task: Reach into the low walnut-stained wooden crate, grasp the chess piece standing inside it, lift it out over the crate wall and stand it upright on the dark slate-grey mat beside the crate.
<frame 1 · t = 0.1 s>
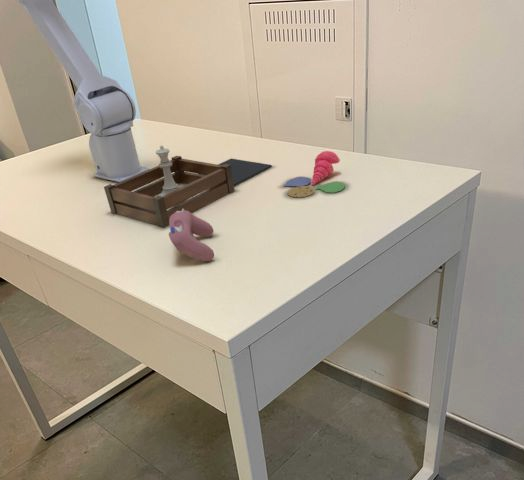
mat: (232, 172, 108), on the table
crate: (173, 201, 99), on the table
video game controller: (195, 251, 82), on the table
chess piece: (173, 202, 99), resting in crate
toy pieces: (314, 185, 98), on the table
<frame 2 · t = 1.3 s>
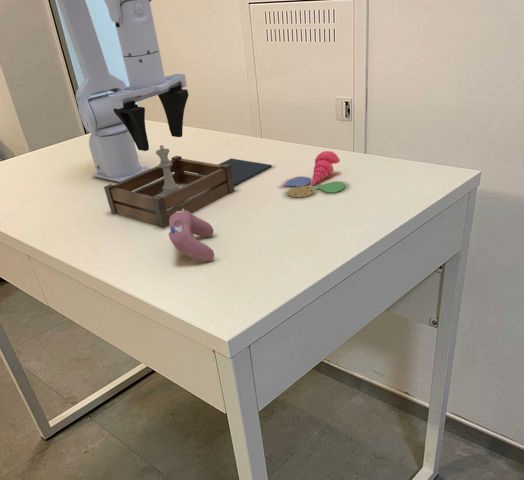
hand: (160, 143, 93), 10 cm above the table, tool pointing down, fingers open, 7 cm apart
nothing on the table moved.
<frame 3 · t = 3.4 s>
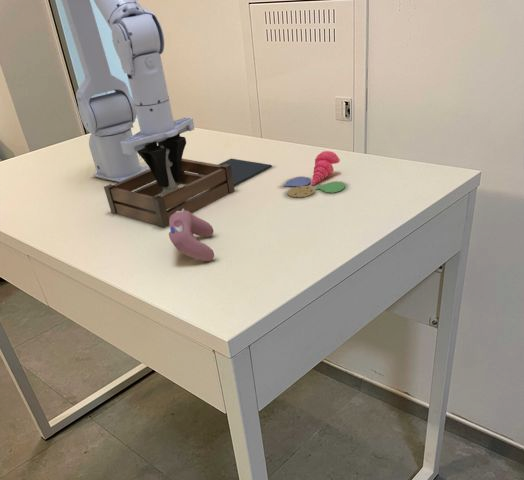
hand: (169, 183, 97), 3 cm above the table, tool pointing down, fingers closed on chess piece, 2 cm apart
chess piece: (173, 202, 99), resting in crate, touching gripper
everything else where it was.
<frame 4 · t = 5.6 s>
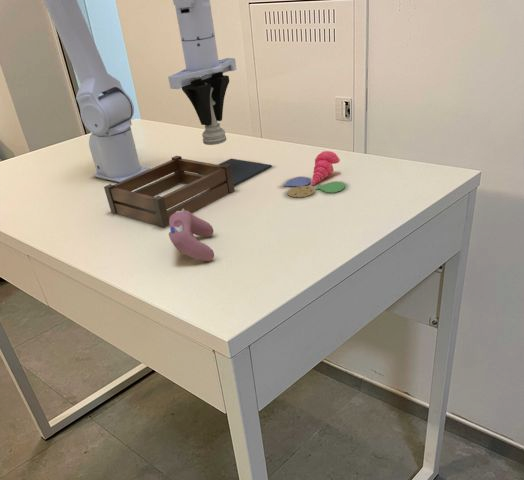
hand: (211, 122, 100), 10 cm above the table, tool pointing down, fingers closed on chess piece, 2 cm apart
chess piece: (215, 142, 102), point 7 cm above the table, touching gripper
everything else where it was.
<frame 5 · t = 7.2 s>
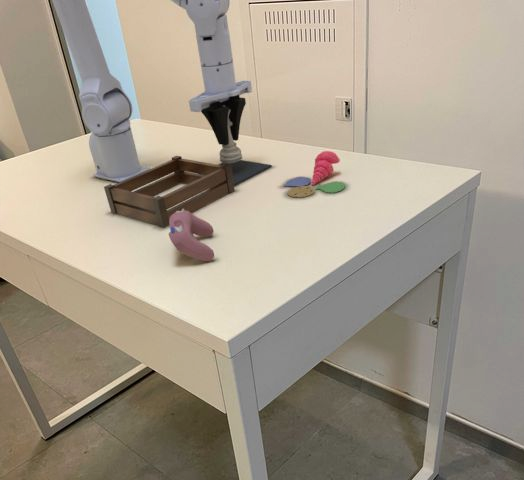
hand: (228, 142, 105), 6 cm above the table, tool pointing down, fingers closed on chess piece, 2 cm apart
chess piece: (231, 160, 107), point 2 cm above the table, touching gripper
everything else where it was.
when the fingers open (4 cm above the table, at t = 8.1 s): chess piece stays where it is, resting on mat.
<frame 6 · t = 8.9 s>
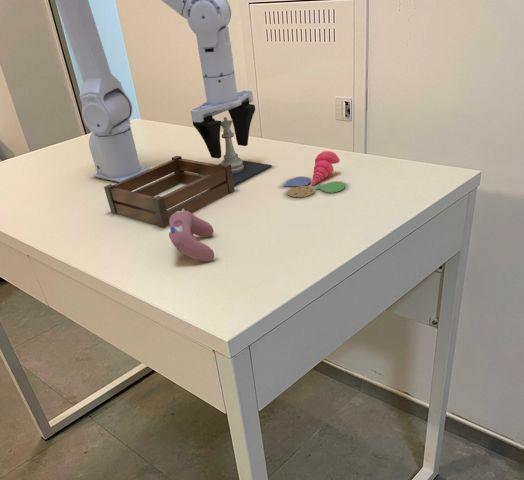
hand: (229, 151, 106), 4 cm above the table, tool pointing down, fingers open, 7 cm apart
chess piece: (233, 171, 108), resting on mat
everything else where it was.
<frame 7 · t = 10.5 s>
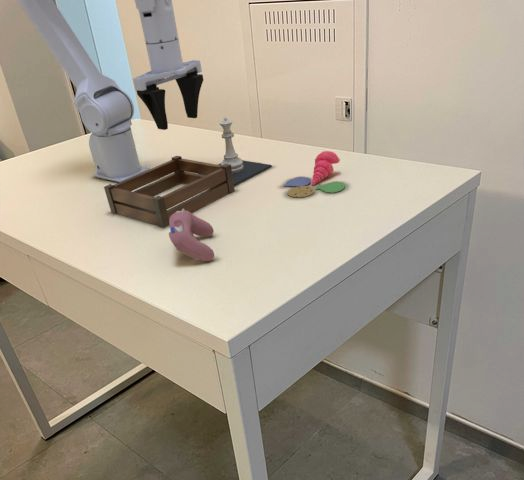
hand: (178, 123, 102), 10 cm above the table, tool pointing down, fingers open, 7 cm apart
nothing on the table moved.
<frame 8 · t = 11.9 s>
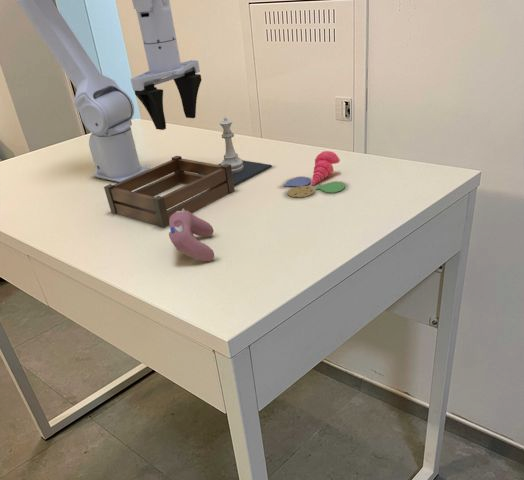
hand: (176, 123, 102), 10 cm above the table, tool pointing down, fingers open, 7 cm apart
nothing on the table moved.
at the end: chess piece inside the target area (0.0 cm from its centre), resting on mat; chess piece tilted 0°; chess piece touching mat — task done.
